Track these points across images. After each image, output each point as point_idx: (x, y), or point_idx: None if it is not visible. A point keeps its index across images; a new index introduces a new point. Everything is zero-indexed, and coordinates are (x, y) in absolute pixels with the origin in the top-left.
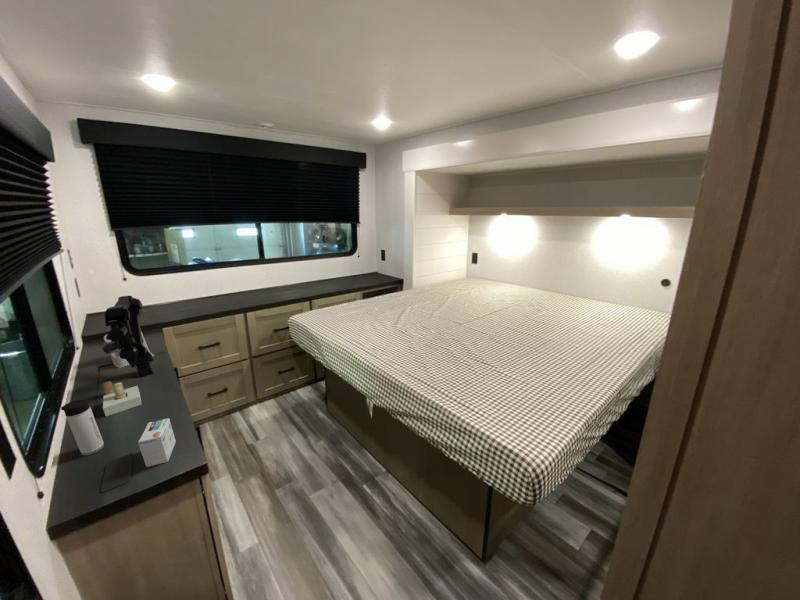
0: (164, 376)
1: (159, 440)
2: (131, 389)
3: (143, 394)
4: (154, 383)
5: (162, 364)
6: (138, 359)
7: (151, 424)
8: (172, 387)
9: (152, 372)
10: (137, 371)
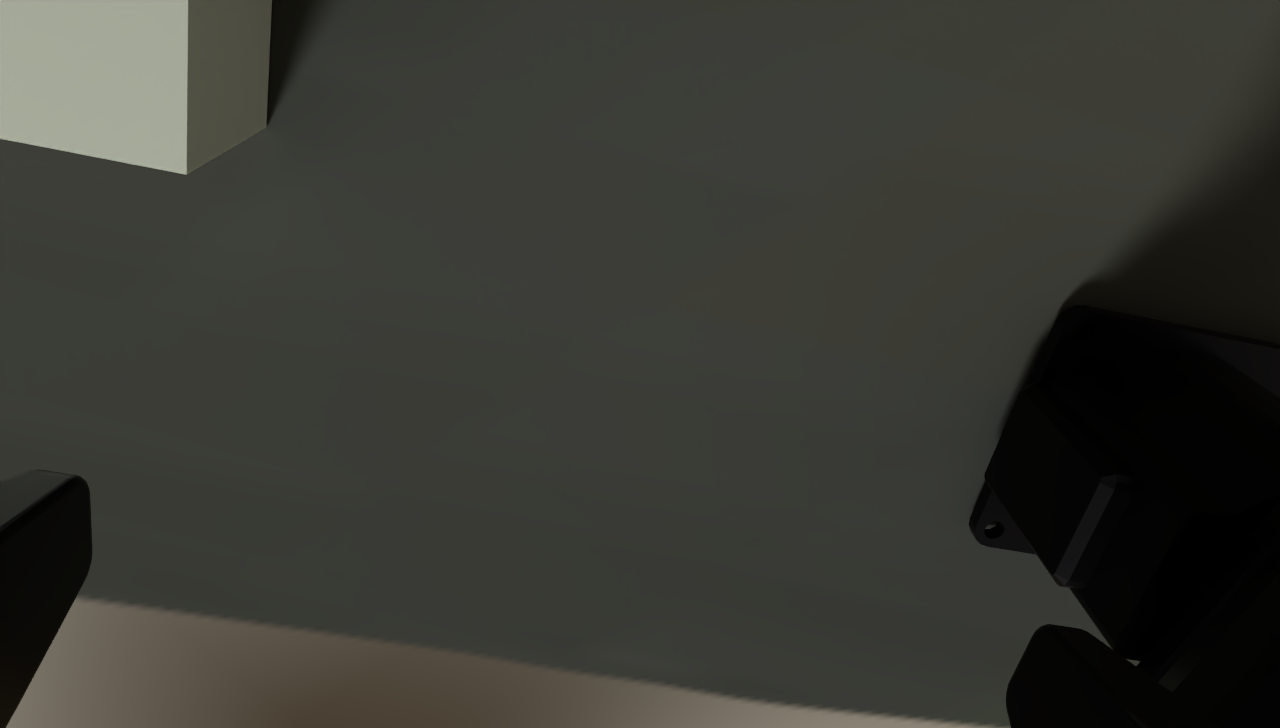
0: (637, 603)
1: None
2: (36, 2)
3: None
4: (489, 426)
5: None
6: (1225, 706)
7: None
8: None
9: (980, 533)
10: (1237, 381)
